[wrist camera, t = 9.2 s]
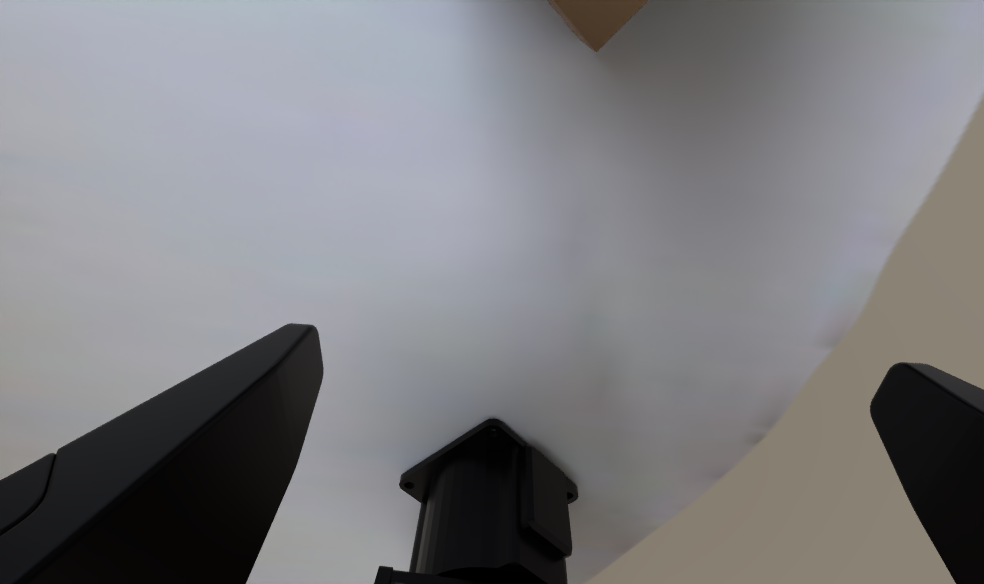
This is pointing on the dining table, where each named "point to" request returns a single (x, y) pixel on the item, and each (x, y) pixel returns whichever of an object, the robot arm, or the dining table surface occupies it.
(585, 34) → the walnut block
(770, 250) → the dining table surface
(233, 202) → the dining table surface
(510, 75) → the dining table surface
